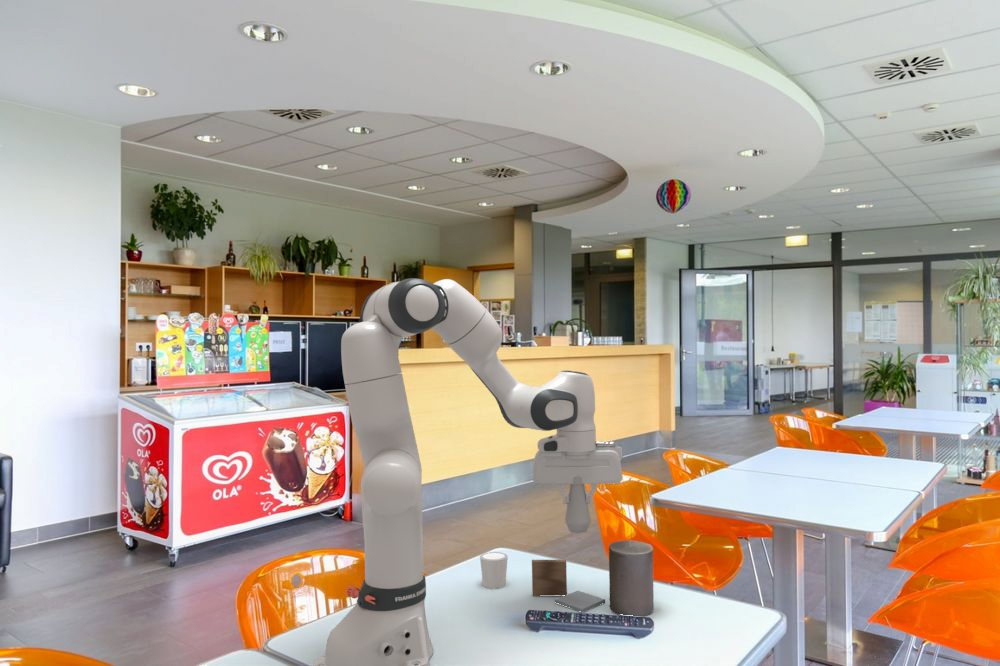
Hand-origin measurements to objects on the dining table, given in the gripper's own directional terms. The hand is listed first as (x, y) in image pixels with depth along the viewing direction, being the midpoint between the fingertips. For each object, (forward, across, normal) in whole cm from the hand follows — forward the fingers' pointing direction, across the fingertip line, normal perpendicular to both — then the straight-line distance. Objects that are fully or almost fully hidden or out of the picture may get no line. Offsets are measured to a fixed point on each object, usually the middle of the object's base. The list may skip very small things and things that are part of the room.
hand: (577, 503), depth 155 cm
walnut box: (+22, +7, -5) cm, 24 cm away
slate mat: (+22, 0, 0) cm, 23 cm away
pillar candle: (+23, -11, +3) cm, 26 cm away
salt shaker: (+6, 0, 0) cm, 6 cm away
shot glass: (+23, +20, -12) cm, 33 cm away
